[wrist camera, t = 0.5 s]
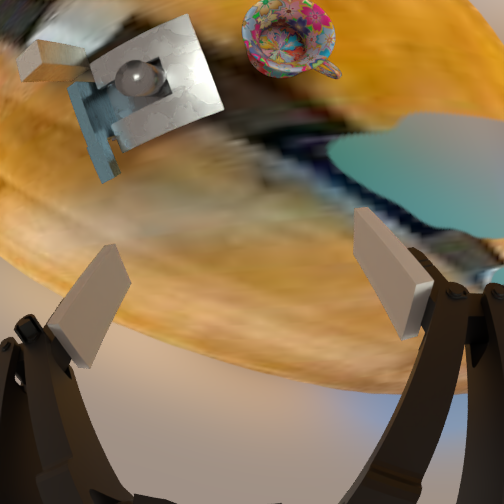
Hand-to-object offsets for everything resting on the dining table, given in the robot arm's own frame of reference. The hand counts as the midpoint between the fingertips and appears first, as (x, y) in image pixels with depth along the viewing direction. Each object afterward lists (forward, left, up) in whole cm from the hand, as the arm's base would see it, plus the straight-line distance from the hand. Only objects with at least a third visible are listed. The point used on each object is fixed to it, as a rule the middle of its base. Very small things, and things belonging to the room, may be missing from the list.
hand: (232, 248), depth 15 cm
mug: (-12, +10, -26) cm, 31 cm away
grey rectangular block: (-25, -18, -26) cm, 40 cm away
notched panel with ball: (-13, -8, -26) cm, 30 cm away
